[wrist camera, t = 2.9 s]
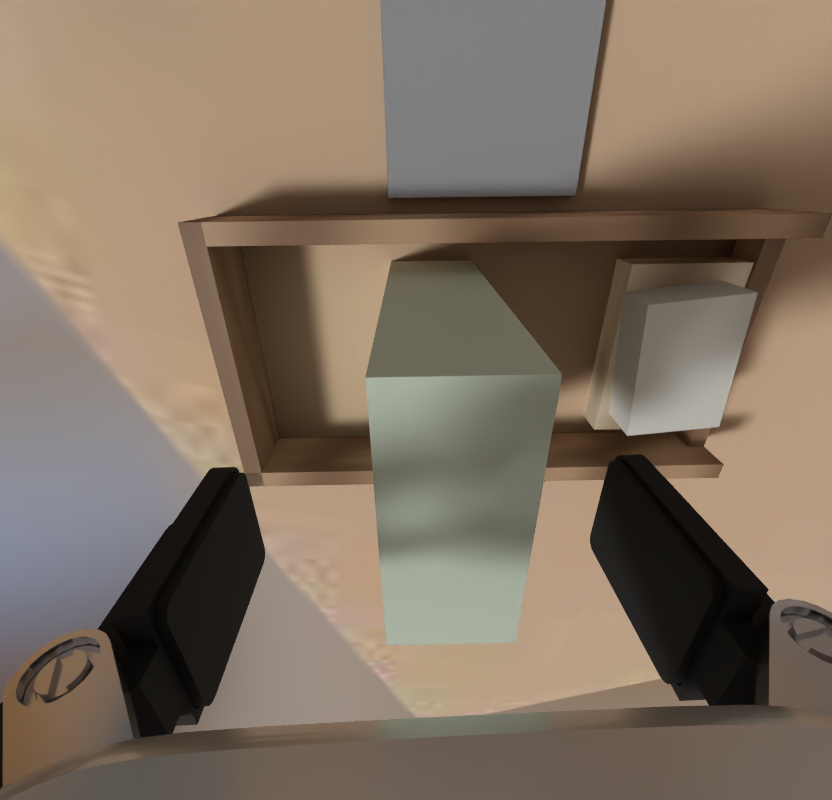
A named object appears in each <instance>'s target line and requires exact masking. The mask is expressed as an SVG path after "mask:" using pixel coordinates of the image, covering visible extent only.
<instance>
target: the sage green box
mask: <svg viewBox="0 0 832 800" xmlns="http://www.w3.org/2000/svg"><path fill="white" fill-rule="evenodd" d="M561 379H562V373H561V372H560V371H559V370H558V368H557V367H556V366H555V365H554V363H553V362H552V361H551V360H550V358H549V357H548V356H547V355H546V353H545V352H544V351H543V349H542V348H541V347H540V346H539V344H538V343H537V342H536V341H535V339H534V338H533V337H532V336H531V334H530V333H529V332H528V331H527V329H526V328H525V327H524V326H523V324H522V323H521V322H520V321H519V319H518V318H517V317H516V316H515V314H514V313H513V312H512V311H511V309H510V308H509V307H508V306H507V304H506V303H505V302H504V301H503V299H502V298H501V297H500V296H499V294H498V293H497V292H496V291H495V289H494V288H493V287H492V286H491V284H490V283H489V282H488V281H487V279H486V278H485V277H484V276H483V274H482V273H481V272H480V271H479V269H478V268H477V267H476V266H475V264H474V263H473V262H472V261H471V260H448V261H391V266H390V270H389V274H388V279H387V283H386V288H385V292H384V297H383V301H382V306H381V310H380V315H379V319H378V324H377V328H376V333H375V337H374V342H373V346H372V351H371V355H370V360H369V364H368V369H367V373H366V391H367V403H368V416H369V429H370V442H371V455H372V468H373V481H374V493H375V506H376V519H377V532H378V545H379V558H380V571H381V584H382V596H383V609H384V622H385V635H386V645H425V644H470V643H515V641H516V635H517V629H518V624H519V618H520V612H521V607H522V601H523V595H524V590H525V584H526V578H527V573H528V567H529V561H530V555H531V550H532V544H533V538H534V533H535V527H536V521H537V516H538V510H539V504H540V499H541V493H542V487H543V481H544V476H545V470H546V464H547V459H548V453H549V447H550V442H551V436H552V430H553V425H554V419H555V413H556V408H557V402H558V396H559V390H560V385H561Z"/></svg>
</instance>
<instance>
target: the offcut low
mask: <svg viewBox="0 0 832 800" xmlns="http://www.w3.org/2000/svg"><path fill="white" fill-rule="evenodd" d="M753 264H754V262H750V261H746V260H741V259H737V258H733V257H685V258H620V259H617V261H616V265H615V270H614V275H613V279H612V284H611V289H610V293H609V298H608V303H607V307H606V312H605V317H604V321H603V326H602V331H601V336H600V340H599V345H598V350H597V354H596V359H595V364H594V368H593V373H592V378H591V382H590V387H589V392H588V396H587V401H586V406H585V410H584V416H585V418H586V419H587V421H588V422H589V423H590V425H591V426H592V427H593V429H594V430H598V429H621V428H620V426H619V425H618V424H617V423H616V422H615V420H614V419H613V418H612V417H611V415H610V414H609V410H610V402H611V394H612V386H613V378H614V370H615V362H616V354H617V345H618V337H619V329H620V321H621V314H622V306H623V298H624V292H628V291H637V290H645V289H654V288H662V287H671V286H679V285H688V284H697V283H705V282H714V281H725V282H728V283H731V284H734V285H737V286H740V287H743V288H745V286H746V283H747V281H748V278H749V275H750V273H751V270H752V267H753Z"/></svg>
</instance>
